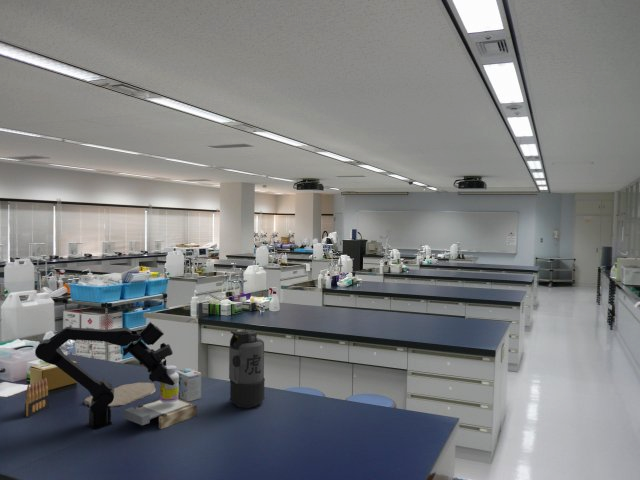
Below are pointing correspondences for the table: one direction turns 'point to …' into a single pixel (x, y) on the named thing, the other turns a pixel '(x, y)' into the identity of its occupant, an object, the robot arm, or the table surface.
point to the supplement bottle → (170, 386)
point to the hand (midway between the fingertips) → (173, 381)
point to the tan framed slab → (175, 415)
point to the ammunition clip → (36, 398)
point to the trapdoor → (152, 411)
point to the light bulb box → (189, 384)
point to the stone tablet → (128, 393)
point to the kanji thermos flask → (246, 369)
